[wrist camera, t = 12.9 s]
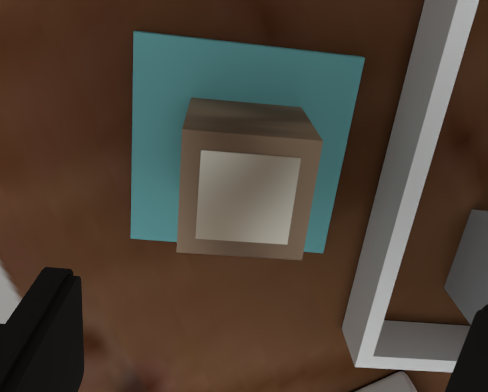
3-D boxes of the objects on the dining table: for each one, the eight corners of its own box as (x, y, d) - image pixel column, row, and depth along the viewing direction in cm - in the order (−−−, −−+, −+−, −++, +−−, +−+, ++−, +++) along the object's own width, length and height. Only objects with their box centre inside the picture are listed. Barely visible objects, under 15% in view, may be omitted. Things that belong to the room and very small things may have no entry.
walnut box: (301, 107, 21) (323, 141, 16) (286, 205, 23) (301, 260, 18) (191, 97, 21) (182, 129, 16) (185, 198, 23) (176, 252, 18)
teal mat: (361, 56, 21) (365, 58, 20) (321, 248, 25) (323, 253, 24) (135, 30, 20) (133, 31, 19) (132, 233, 24) (130, 238, 23)
